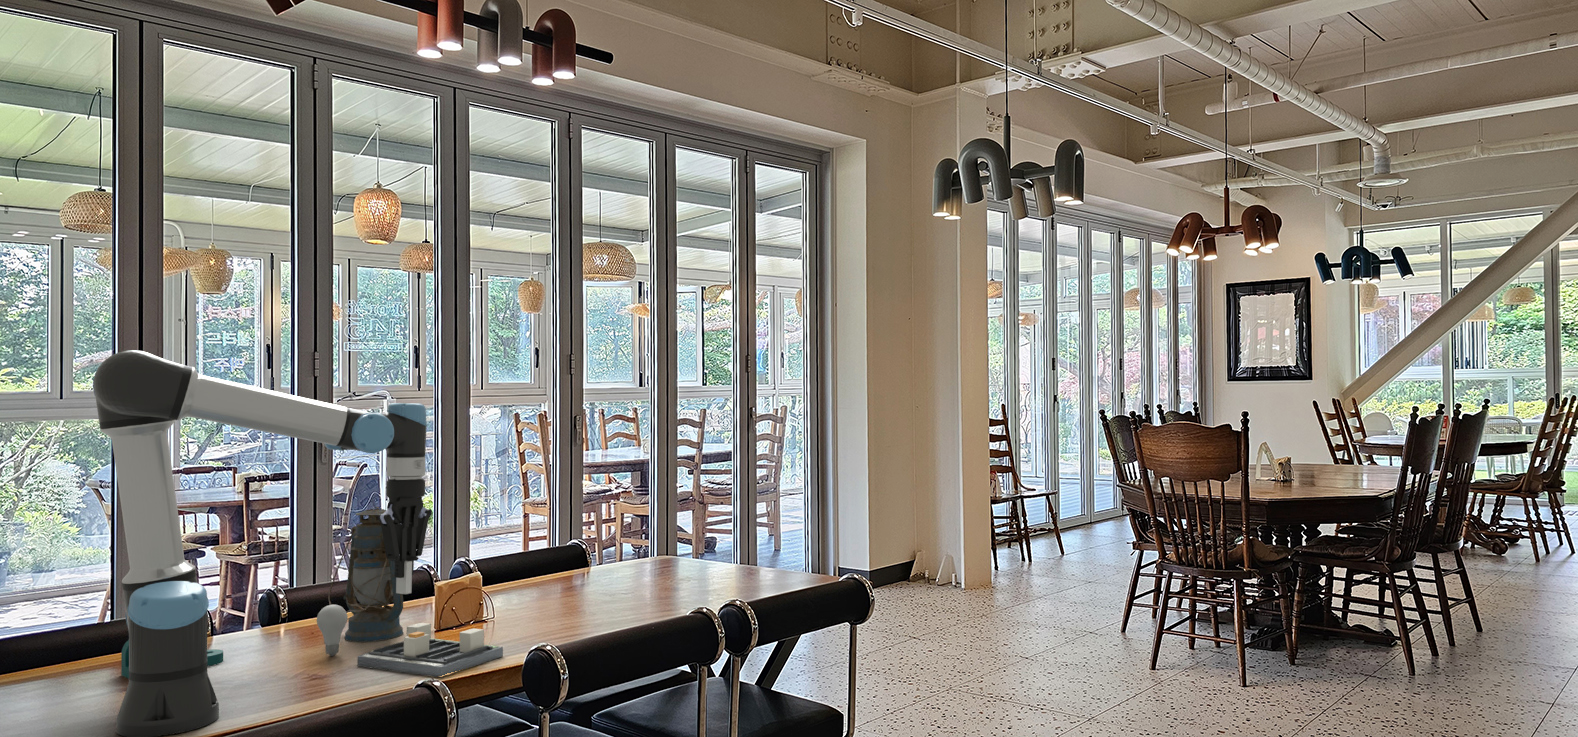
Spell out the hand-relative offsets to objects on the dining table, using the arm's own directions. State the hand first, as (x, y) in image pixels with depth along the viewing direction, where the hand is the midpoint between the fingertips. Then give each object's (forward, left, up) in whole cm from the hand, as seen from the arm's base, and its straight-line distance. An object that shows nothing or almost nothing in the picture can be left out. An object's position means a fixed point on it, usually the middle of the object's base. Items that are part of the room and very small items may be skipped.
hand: (403, 593), depth 213 cm
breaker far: (+11, +7, -13) cm, 19 cm away
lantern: (+19, +30, -16) cm, 39 cm away
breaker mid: (+3, 0, -13) cm, 14 cm away
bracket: (-18, +45, -16) cm, 51 cm away
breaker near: (+11, -8, -13) cm, 19 cm away
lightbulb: (+2, +23, -16) cm, 28 cm away
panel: (+7, 0, -16) cm, 17 cm away
